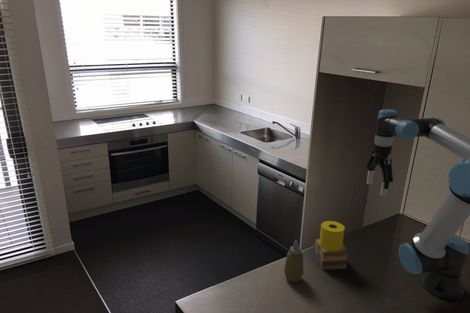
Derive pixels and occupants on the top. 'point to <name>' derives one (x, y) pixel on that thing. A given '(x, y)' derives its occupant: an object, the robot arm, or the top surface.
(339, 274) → the top surface
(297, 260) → the squeeze bottle
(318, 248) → the tower block top
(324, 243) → the yellow toilet paper roll
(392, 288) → the top surface
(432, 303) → the top surface
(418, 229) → the top surface
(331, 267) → the tower block bottom
